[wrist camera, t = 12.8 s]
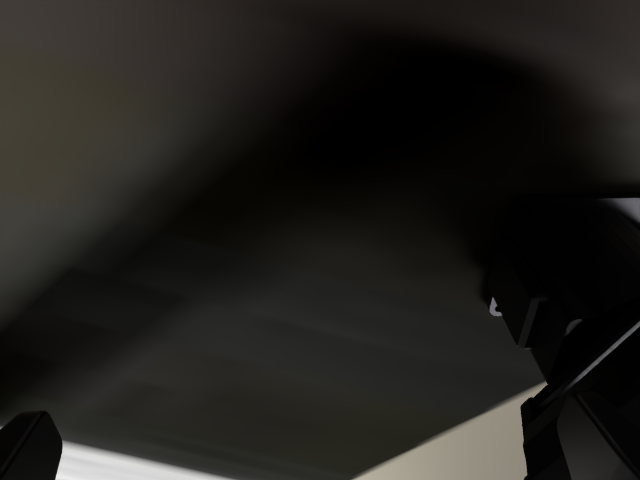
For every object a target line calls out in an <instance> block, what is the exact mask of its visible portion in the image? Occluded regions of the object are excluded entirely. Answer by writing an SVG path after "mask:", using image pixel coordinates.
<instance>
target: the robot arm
mask: <svg viewBox="0 0 640 480" xmlns="http://www.w3.org/2000/svg"><path fill="white" fill-rule="evenodd" d="M524 205H528V207H527V208H526V209H525V210H522V211H521V210H520V209H521V207H523V206H524ZM488 288H489V290H490V294H489V298H488V302H487V307H488V309H489V311H490V312H491V314H493V315H495V316H502V317H503V319H504V321H505V323H506V325H507V327H508V329H509V331H510V333H511V335H512V337H513V339H514V341H515V343H516V345H517V346H518V347H519V348H520V349H521V350H530V351H531V353H532V355H533V357H534V359H535V361H536V363H537V365H538V367H539V368H540V370H541V372H542V374H543V376H544V378H545V380H546V382H547V384H548V385H547V386H545V387H544V388H543V389H542V390H541V391H540V392H539V393H538V394H537V395H536V396H535V397H534V398H531V397H530V398H529V399H527V400H526V401H525V402H524V403H523V404H522V405H521V417H522V427H523V436H524V442H523V449H524V453H525V458H526V465H527V476H526V477H525V478H524V480H640V194H569V195H523V196H520V197H518V198H516V199H515V200H514V201H513V203H512V205H511V208H510V212H509V216H508V220H507V224H506V228H505V233H504V237H503V240H501V241H500V242H499V243H498V245H497V248H496V253H495V257H494V261H493V265H492V269H491V273H490V278H489V282H488ZM496 306H497V307H496ZM61 454H62V439H61V436H60V434H59V432H58V430H57V428H56V426H55V424H54V422H53V420H52V418H51V416H50V414H49V413H48V412H46V411H25V412H22V413H20V414H18V415H16V416H15V417H14V418H13V419H12V420H11V421H9V422H8V423H7V424H6V425H5V426H4V427H3V428H2V429H0V480H55V478H56V474H57V470H58V466H59V462H60V458H61Z"/></svg>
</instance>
